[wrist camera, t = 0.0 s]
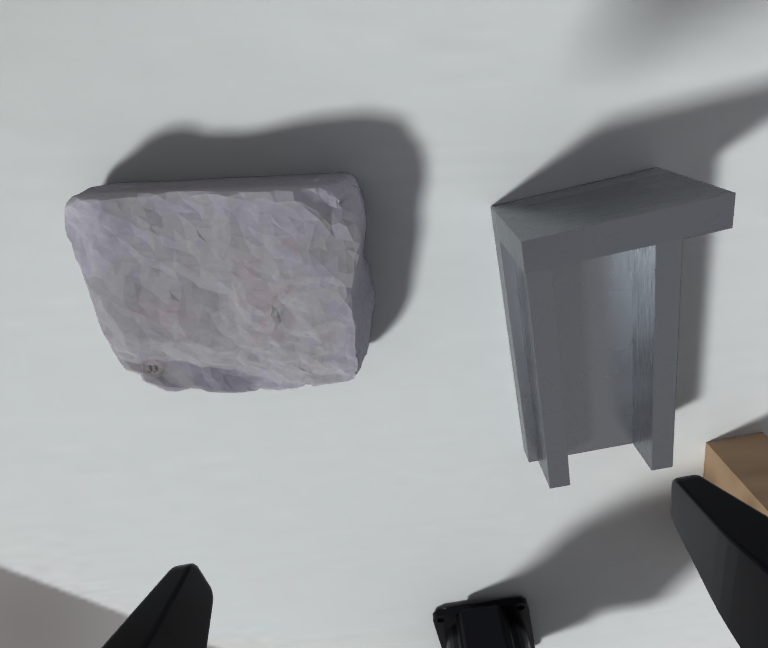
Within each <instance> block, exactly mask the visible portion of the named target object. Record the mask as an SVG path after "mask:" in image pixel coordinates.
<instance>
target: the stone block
mask: <svg viewBox="0 0 768 648" xmlns="http://www.w3.org/2000/svg"><path fill="white" fill-rule="evenodd" d="M366 228H367V224H366V214H365V208H364V199H363V196H362V192H361V190H360V187H359V185H358V182H357V180H356V179H355V177H353V176H352V175H350V174H348V173H343V172H339V173H318V174H302V175H279V176H264V177H234V178H217V179H198V180H181V181H158V182H130V183H113V184H108V185H102V186H96V187H91V188H88V189H87V190H85V191H83V192H82V193H80V194H78V195H75V196H73V197H72V198H71V199H70V200H69V201H68V202H67V203H66V207H65V229H66V233H67V237H68V238H69V240H70V241H71V243H72V246H73V250H74V254H75V258H76V260H77V262H78V264H79V265H80V267H81V269H82V272H83V276H84V279H85V282H86V285H87V287H88V290H89V293H90V297H91V299H92V302H93V304H94V308H95V311H96V314H97V317H98V321H99V324H100V326H101V329H102V331H103V333H104V335H105V337H106V339H107V340H108V342H109V344H110V345H111V348H112V350H113V352H114V353H115V355H116V356H117V358H118V359H119V361H120V363H121V364H122V365H123V366H124V368H125V369H126V370H129V371H132V372H135V373H138V374H141V376H142V379H143V381H145V382H147V383H149V384H152V385H155V386H157V387H159V388H161V389H164V390H166V391H175V392H176V391H181V390H185V389H189V388H197V389H203V390H205V391H209V392H220V393H237V392H247V391H255V390H258V389H259V388H261V389H276V390H282V389H287V388H297V387H300V386H303V385H305V384H310V385H312V386H317V385H323V384H330V383H337V382H344V381H349V380H351V379H354V377H355V375H356V374H357V372H358V371H359V370H360V368H361V365H362V361H363V359H364V357H365V355H366V354H367V350H368V346H369V342H370V331H371V321H372V313H373V310H374V308H375V301H374V300H375V291H374V288H373V284H372V280H371V277H370V272H369V271H370V266H369V264H368V262H367V260H366V258H365V256H364V241H365V232H366Z"/></svg>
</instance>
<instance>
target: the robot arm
mask: <svg viewBox="0 0 768 648" xmlns="http://www.w3.org/2000/svg"><path fill="white" fill-rule="evenodd" d="M671 516H672V519H673V522H674V524H675V526H676V528H677V530H678V532H679V534H680V536H681V538H682V540H683V542H684V544H685V546H686V548H687V550H688V552H689V554H690V556H691V558H692V560H693V562H694V564H695V566H696V568H697V570H698V572H699V574H700V576H701V578H702V580H703V582H704V584H705V586H706V588H707V590H708V592H709V594H710V597H711V598H712V600H713V602H714V604H715V606H716V608H717V610H718V612H719V613H720V615H721V617H722V618H723V620H724V622H725V623H726V625H727V627H728V628H729V630H730V632H731V633H732V635H733V636H734V638H735V640H736V641H737V643H738V644H739V646H740V648H768V516H766V515H765V514H763V513H761V512H760V511H758V510H756V509H755V508H753V507H751V506H750V505H748V504H746V503H745V502H743V501H741V500H740V499H738V498H736V497H735V496H733V495H731V494H730V493H728V492H726V491H725V490H723V489H721V488H720V487H718V486H716V485H715V484H713V483H711V482H710V481H708V480H706V479H705V478H703V477H701V476H698V475H691V476H686V477H680V478H676V479H674V480H673V482H672V490H671ZM212 605H213V593H212V589H211V587H210V585H209V584H208V582H207V581H206V579H205V577H204V576H203V574H202V573H201V571H200V569H199V568H198V566H197V565H195V564H185V565H179V566H175V567H173V568H172V569H171V570H170V571H169V572H168V573H167V574H166V575H165V576H164V577H163V578H162V580H161V581H160V582H159V583H158V584H157V585H156V586H155V588H154V589H153V590H152V591H151V592H150V593H149V594H148V595H147V597H146V598H145V599H144V600H143V601H142V602H141V603H140V605H139V606H138V607H137V608H136V609H135V610H134V611H133V613H132V614H131V615H130V616H129V617H128V618H127V619H126V621H125V622H124V623H123V624H122V625H121V626H120V627H119V628H118V630H117V631H116V632H115V633H114V634H113V635H112V636H111V637H110V639H109V640H108V641H107V642H106V643H105V644H104V646H103V647H102V648H207V641H208V634H209V627H210V619H211V612H212ZM433 621H434V625H435V628H436V631H437V634H438V637H439V641H440V644H441V647H442V648H535V645H534V639H533V633H532V627H531V620H530V614H529V608H528V604H527V601H526V599H525V598H522V597H519V598H512V599H506V600H500V601H493V602H487V603H480V604H474V605H468V606H461V607H455V608H449V609H442V610H437V611H435V612H434V613H433Z"/></svg>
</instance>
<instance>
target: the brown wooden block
mask: <svg viewBox="0 0 768 648" xmlns="http://www.w3.org/2000/svg"><path fill="white" fill-rule="evenodd" d="M703 478H705V479H706V480H708V481H710V482H711V483H713V484H715V485H716V486H718V487H720V488H721V489H723V490H725V491H726V492H728V493H730V494H731V495H733V496H735V497H736V498H738V499H740V500H741V501H743V502H745V503H746V504H748V505H750V506H751V507H753V508H755V509H756V510H758V511H760V512H761V513H763V514H765V515H766V516H768V437H767V436H766V435H765V434H764V433H762V432H761V433H755V434H749V435H744V436H738V437H733V438H727V439H722V440H716V441H711V442H706V449H705V461H704V473H703Z"/></svg>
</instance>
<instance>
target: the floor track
mask: <svg viewBox="0 0 768 648" xmlns="http://www.w3.org/2000/svg"><path fill="white" fill-rule="evenodd" d="M735 194H736V193H735V192H731V191H728V190H725V189H722V188H719V187H716V186H713V185H710V184H707V183H704V182H701V181H698V180H694V179H691V178H688V177H685V176H682V175H679V174H676V173H673V172H670V171H667V170H664V169H661V168H657V167H656V168H652V169H648V170H644V171H639V172H635V173H631V174H627V175H622V176H618V177H614V178H610V179H606V180H601V181H597V182H593V183H589V184H584V185H580V186H576V187H572V188H567V189H563V190H559V191H555V192H550V193H546V194H542V195H538V196H534V197H529V198H525V199H521V200H517V201H512V202H508V203H504V204H500V205H495V206H491V212H492V220H493V227H494V234H495V241H496V249H497V256H498V263H499V271H500V278H501V285H502V292H503V300H504V307H505V314H506V321H507V329H508V336H509V343H510V351H511V358H512V365H513V372H514V380H515V387H516V394H517V401H518V409H519V416H520V423H521V431H522V438H523V445H524V451H525V453H526V456H527V458H528V461H529V462H533V461H539V463H540V466H541V468H542V470H543V473H544V475H545V478H546V480H547V482H548V485H549V487H550V488H555V487H561V486H567V485H570V479H569V467H568V455H571V454H576V453H582V452H587V451H593V450H598V449H603V448H609V447H614V446H620V445H625V444H631V443H633V444H634V446H635V447H636V449H637V450H638V451H639V453H640V454H641V456H642V457H643V459H644V460H645V462H646V463H647V464H648V466H649V467H650V469H651V470H656V469H662V468H668V467H672V466H673V443H674V421H675V399H676V377H677V355H678V332H679V310H680V288H681V266H682V244H683V239H684V238H689V237H694V236H698V235H703V234H707V233H712V232H716V231H721V230H725V229H730V228H732V227H733V216H734V205H735Z"/></svg>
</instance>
